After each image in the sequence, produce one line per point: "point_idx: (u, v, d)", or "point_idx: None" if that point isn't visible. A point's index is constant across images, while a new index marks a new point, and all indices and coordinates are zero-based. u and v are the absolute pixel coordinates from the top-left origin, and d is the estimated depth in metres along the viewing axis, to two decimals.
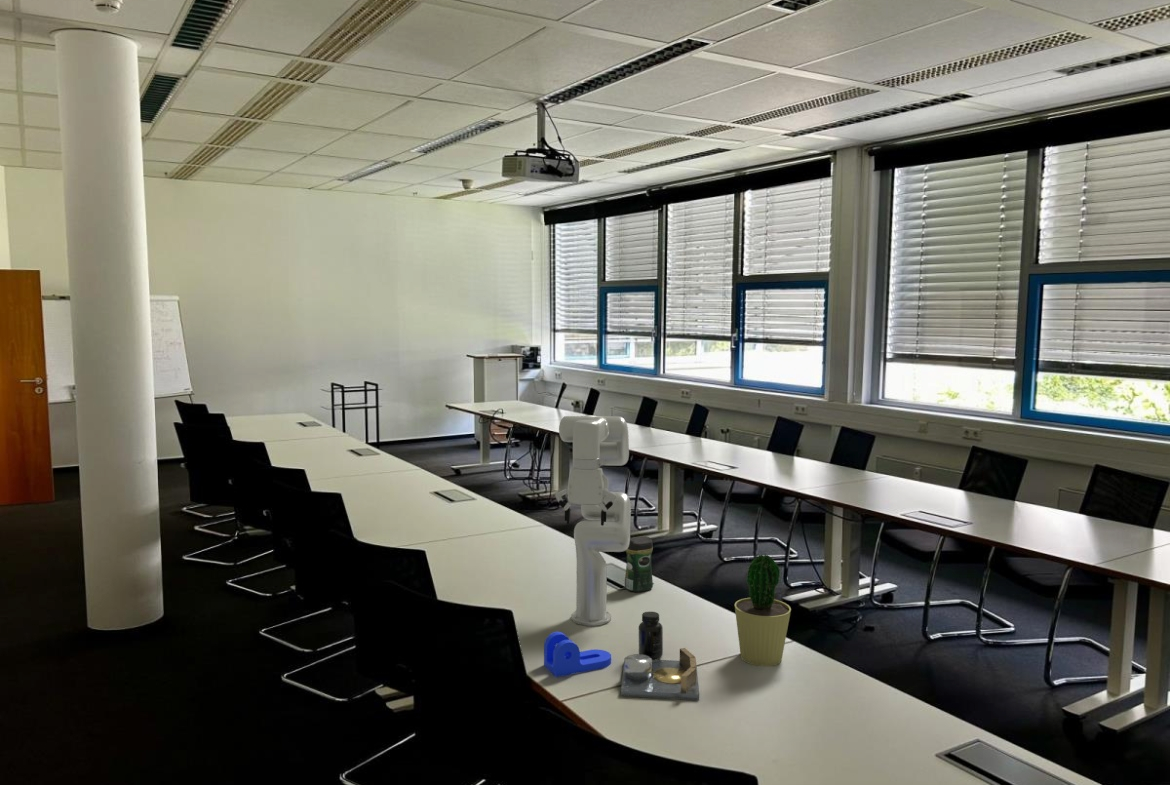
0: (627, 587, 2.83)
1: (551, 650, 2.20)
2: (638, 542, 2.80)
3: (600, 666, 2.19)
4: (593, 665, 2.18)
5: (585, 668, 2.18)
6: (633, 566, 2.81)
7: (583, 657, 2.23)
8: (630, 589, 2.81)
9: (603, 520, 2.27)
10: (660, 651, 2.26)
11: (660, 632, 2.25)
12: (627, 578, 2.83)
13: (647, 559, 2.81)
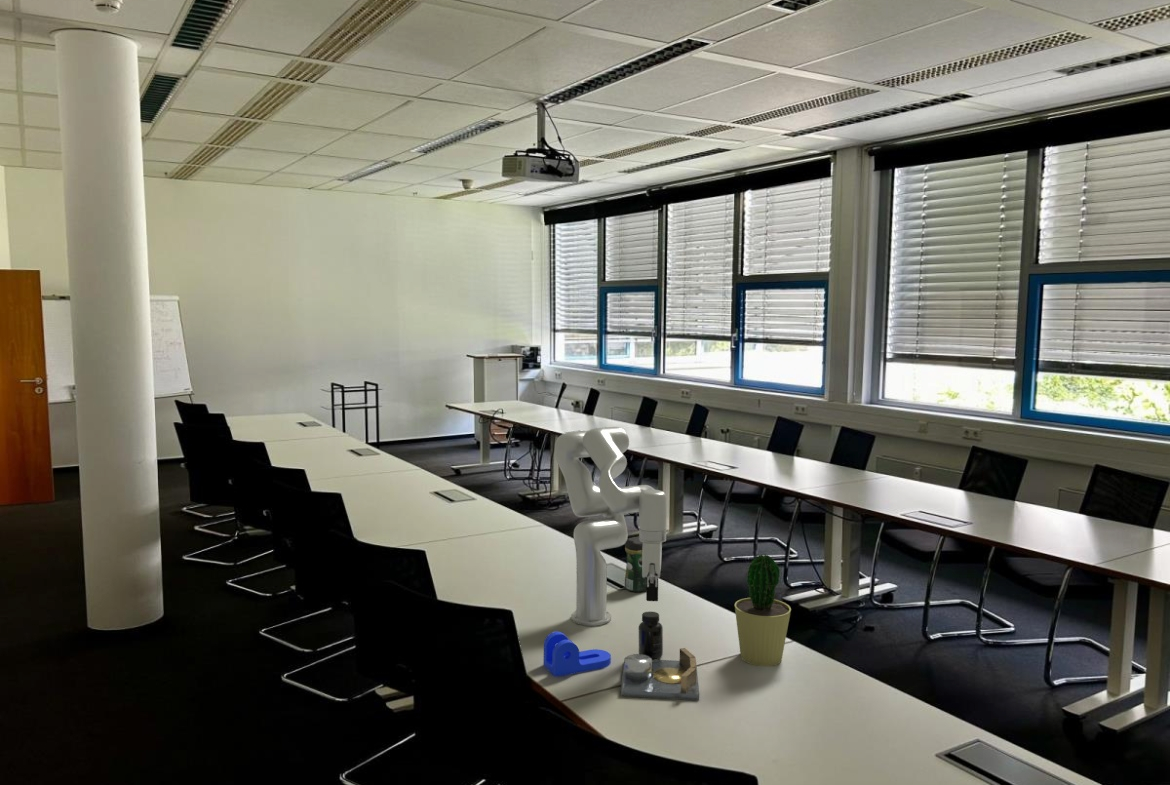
0: (627, 587, 2.83)
1: (551, 650, 2.20)
2: (638, 542, 2.80)
3: (599, 666, 2.19)
4: (592, 665, 2.18)
5: (584, 668, 2.18)
6: (633, 566, 2.81)
7: (583, 657, 2.23)
8: (630, 589, 2.81)
9: None
10: (660, 651, 2.26)
11: (660, 632, 2.25)
12: (627, 578, 2.83)
13: None
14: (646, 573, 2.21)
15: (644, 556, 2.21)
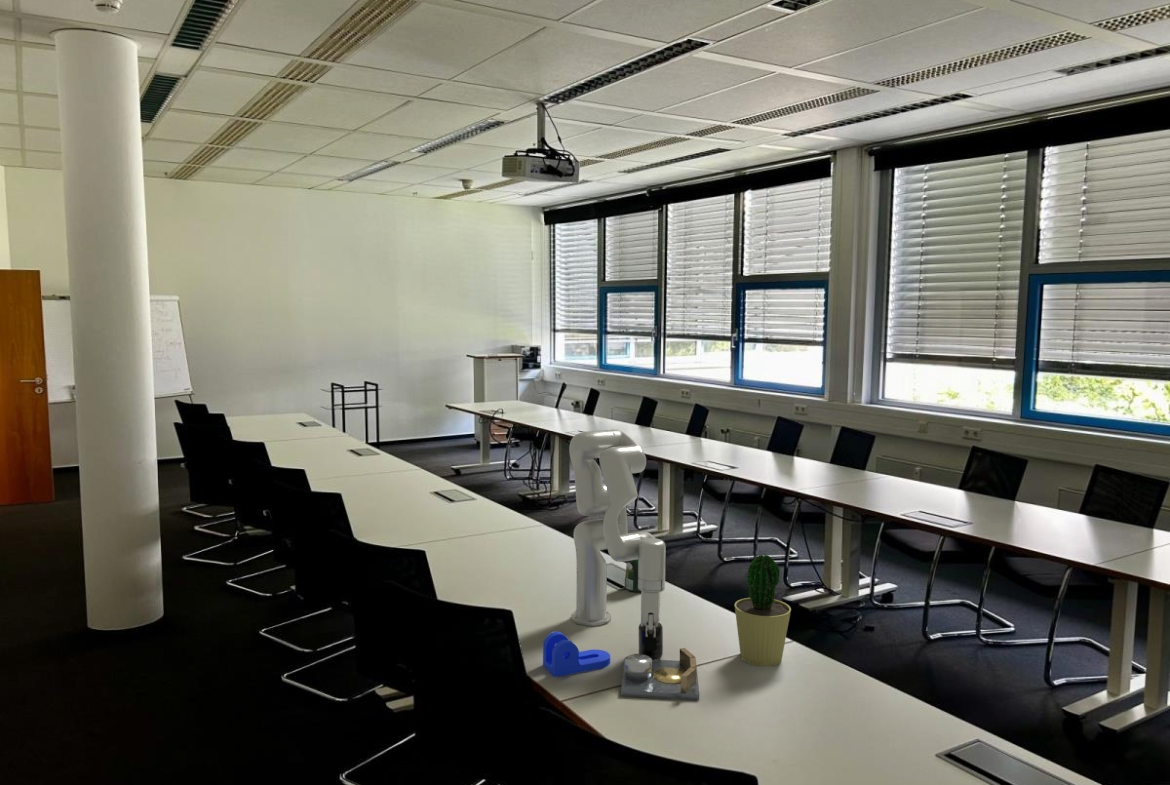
0: (627, 587, 2.83)
1: (550, 650, 2.20)
2: None
3: (599, 666, 2.19)
4: (592, 665, 2.18)
5: (584, 668, 2.17)
6: (633, 566, 2.81)
7: (582, 657, 2.23)
8: (630, 589, 2.81)
9: None
10: (660, 651, 2.26)
11: (660, 632, 2.25)
12: (627, 578, 2.83)
13: None
14: (645, 624, 2.23)
15: (643, 605, 2.22)
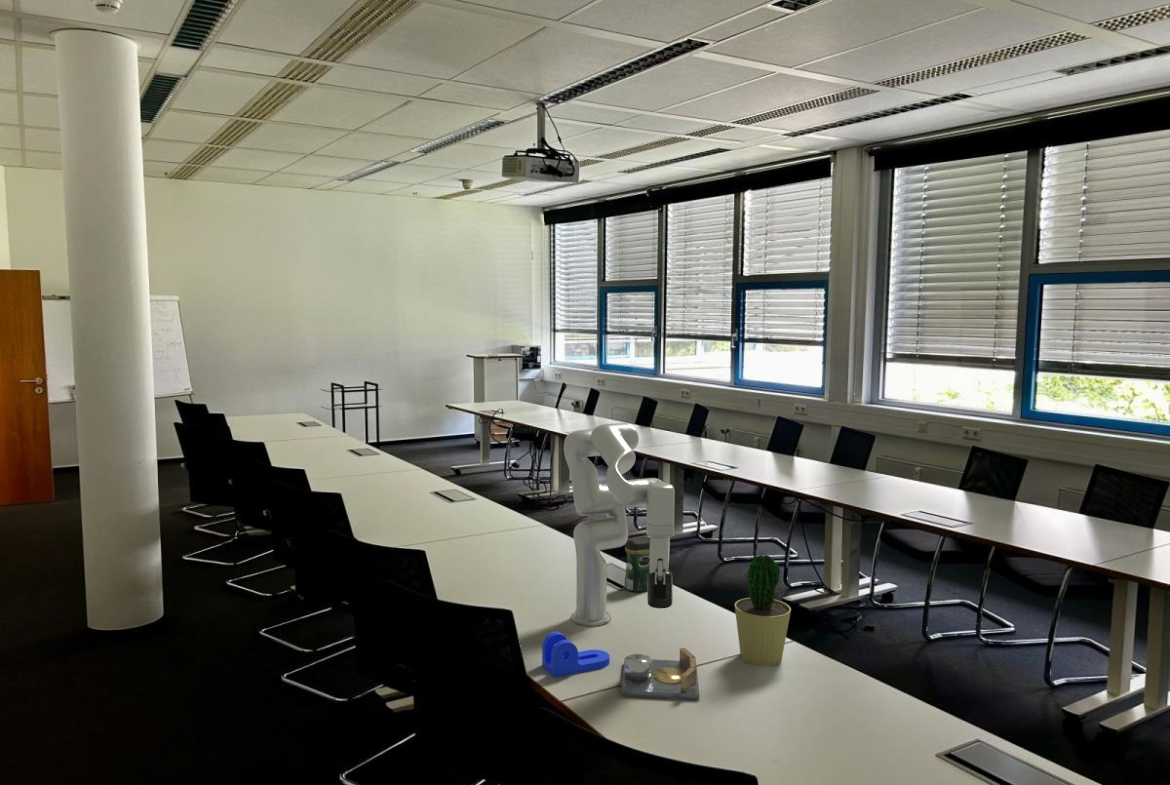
0: (627, 587, 2.83)
1: (549, 650, 2.20)
2: (638, 542, 2.80)
3: (598, 666, 2.19)
4: (591, 665, 2.18)
5: (583, 668, 2.17)
6: (633, 566, 2.81)
7: (581, 657, 2.23)
8: (630, 589, 2.81)
9: None
10: (670, 599, 2.18)
11: (670, 580, 2.17)
12: (627, 578, 2.83)
13: (647, 559, 2.81)
14: (654, 571, 2.15)
15: (652, 551, 2.14)
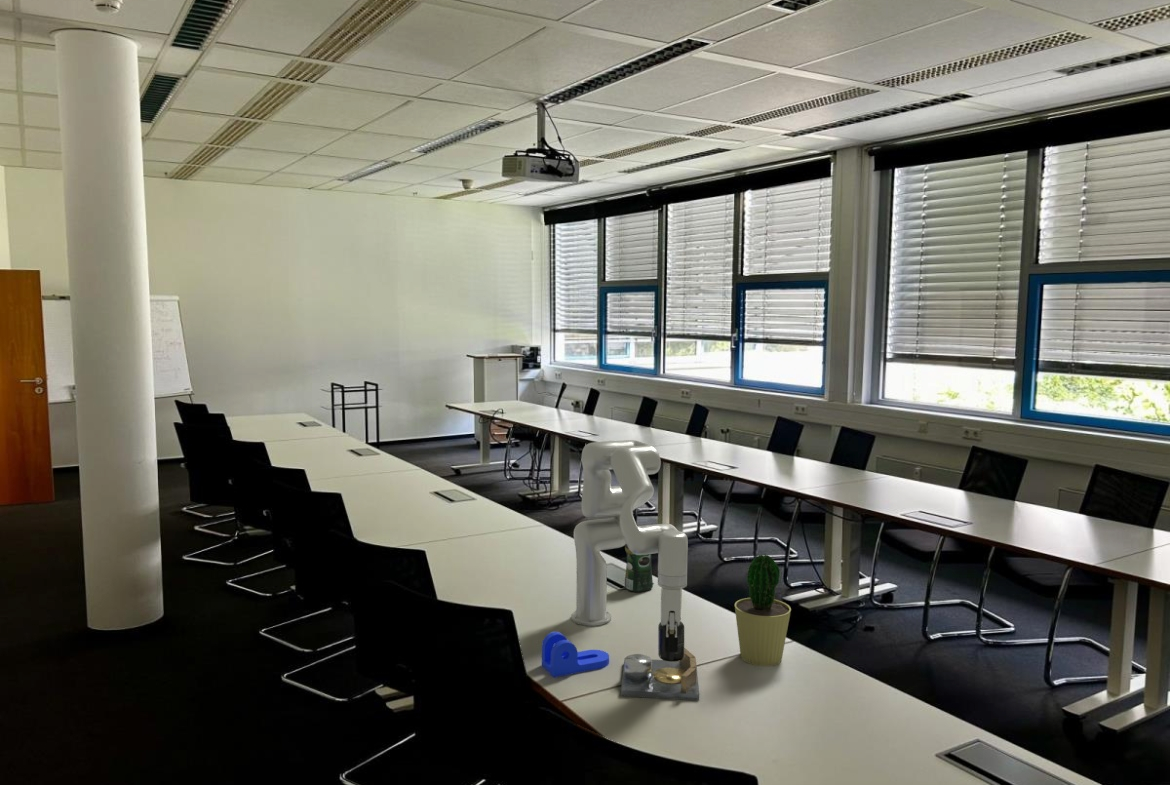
0: (627, 587, 2.83)
1: (549, 650, 2.20)
2: None
3: (598, 666, 2.19)
4: (590, 665, 2.18)
5: (583, 668, 2.17)
6: (633, 566, 2.81)
7: (581, 657, 2.23)
8: (630, 589, 2.81)
9: None
10: (682, 652, 2.09)
11: (682, 632, 2.09)
12: (627, 578, 2.83)
13: (647, 559, 2.81)
14: (665, 623, 2.06)
15: (663, 603, 2.06)
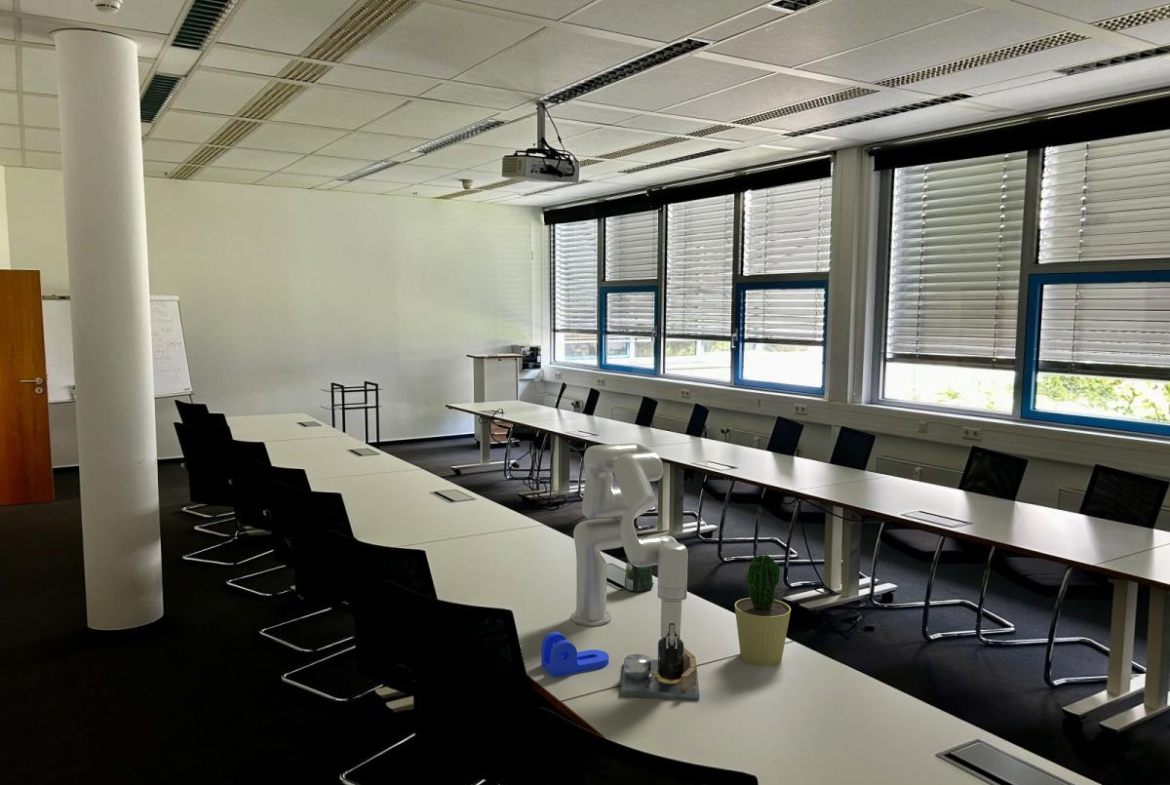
0: (627, 587, 2.83)
1: (548, 650, 2.20)
2: None
3: (597, 666, 2.19)
4: (590, 665, 2.18)
5: (582, 668, 2.17)
6: (633, 566, 2.81)
7: (580, 657, 2.23)
8: (630, 589, 2.81)
9: None
10: (681, 669, 2.10)
11: (681, 650, 2.09)
12: (627, 578, 2.83)
13: None
14: (665, 634, 2.06)
15: (663, 615, 2.06)
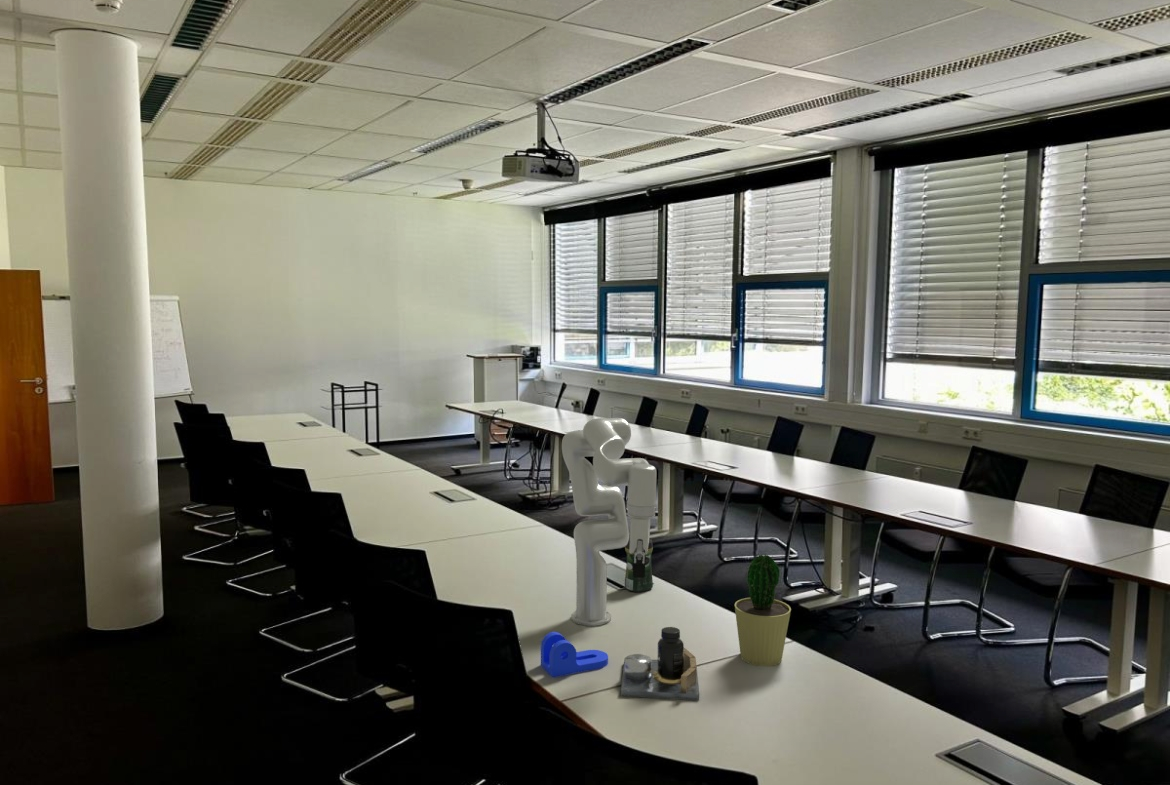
0: (627, 587, 2.83)
1: (548, 651, 2.20)
2: None
3: (597, 667, 2.19)
4: (589, 666, 2.18)
5: (582, 668, 2.17)
6: None
7: (580, 657, 2.23)
8: (630, 589, 2.81)
9: None
10: (681, 669, 2.10)
11: (681, 649, 2.09)
12: (627, 578, 2.83)
13: (647, 559, 2.81)
14: (633, 549, 2.15)
15: (632, 532, 2.15)
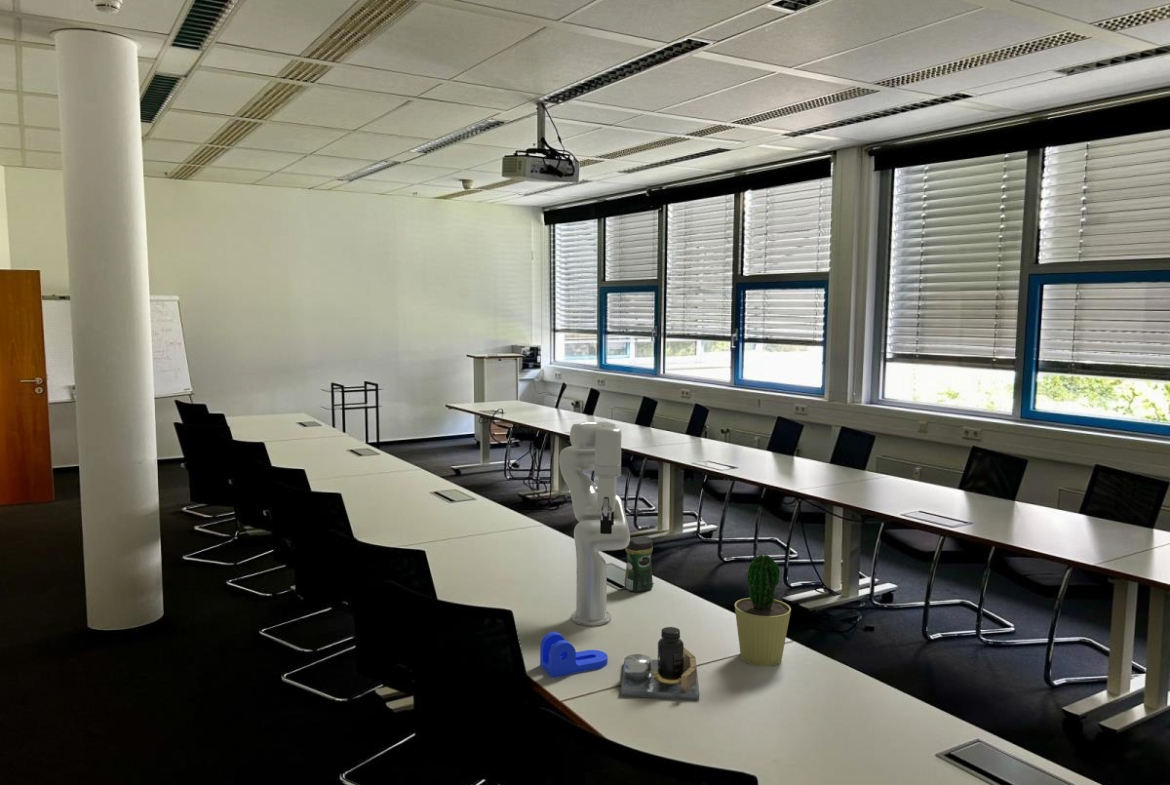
0: (627, 587, 2.83)
1: (547, 651, 2.19)
2: (638, 542, 2.80)
3: (596, 667, 2.19)
4: (589, 666, 2.18)
5: (581, 669, 2.17)
6: (633, 566, 2.81)
7: (579, 657, 2.23)
8: (630, 589, 2.81)
9: None
10: (681, 669, 2.10)
11: (681, 649, 2.09)
12: (627, 578, 2.83)
13: (647, 559, 2.81)
14: (600, 506, 2.27)
15: (598, 490, 2.27)
